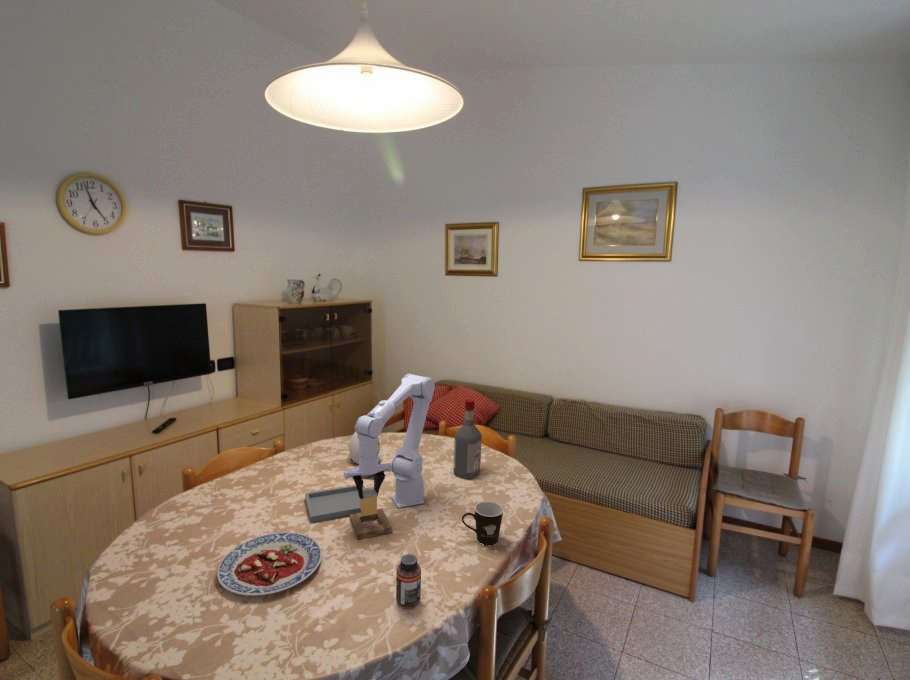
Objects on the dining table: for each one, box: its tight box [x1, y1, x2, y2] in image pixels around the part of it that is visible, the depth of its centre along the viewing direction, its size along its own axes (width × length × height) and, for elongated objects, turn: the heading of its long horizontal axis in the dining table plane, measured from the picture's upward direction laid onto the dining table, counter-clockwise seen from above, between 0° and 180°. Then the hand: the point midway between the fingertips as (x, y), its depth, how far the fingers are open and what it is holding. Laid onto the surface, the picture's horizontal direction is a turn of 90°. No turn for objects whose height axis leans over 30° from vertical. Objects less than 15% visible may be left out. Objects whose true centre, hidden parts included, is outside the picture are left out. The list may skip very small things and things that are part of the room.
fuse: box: [360, 486, 379, 516], centre depth 143 cm, size 4×5×6 cm
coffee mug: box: [461, 500, 504, 546], centre depth 138 cm, size 12×9×10 cm
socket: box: [349, 508, 393, 541], centre depth 143 cm, size 11×12×2 cm
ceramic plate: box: [216, 532, 323, 597], centre depth 122 cm, size 26×26×3 cm
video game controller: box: [361, 458, 382, 479], centre depth 179 cm, size 10×5×7 cm, turn 169°
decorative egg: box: [348, 430, 381, 465], centre depth 189 cm, size 12×12×15 cm
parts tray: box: [304, 484, 366, 524], centre depth 155 cm, size 20×16×2 cm
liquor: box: [453, 398, 483, 480], centre depth 179 cm, size 9×9×30 cm
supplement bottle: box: [395, 553, 422, 609], centre depth 111 cm, size 6×6×11 cm
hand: (368, 496), depth 143 cm, fingers closed on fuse, 4 cm apart
